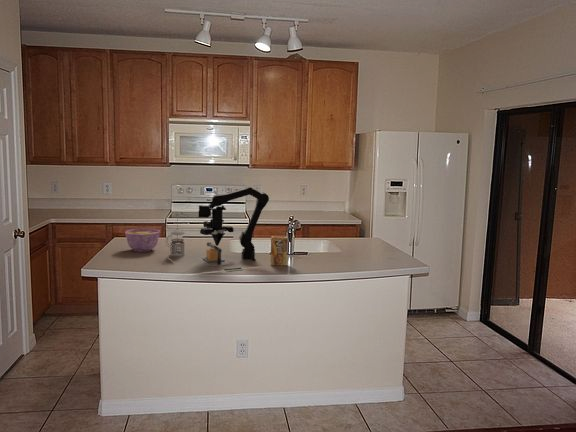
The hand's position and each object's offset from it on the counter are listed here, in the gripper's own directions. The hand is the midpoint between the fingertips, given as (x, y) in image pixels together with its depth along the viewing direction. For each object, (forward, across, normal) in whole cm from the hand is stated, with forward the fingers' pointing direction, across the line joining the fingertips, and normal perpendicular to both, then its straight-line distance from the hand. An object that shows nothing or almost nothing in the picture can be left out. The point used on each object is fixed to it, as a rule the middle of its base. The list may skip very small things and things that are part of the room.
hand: (216, 245), depth 276 cm
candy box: (+8, -22, +27) cm, 36 cm away
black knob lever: (+7, +4, +3) cm, 9 cm away
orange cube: (+7, +4, +3) cm, 9 cm away
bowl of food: (+9, +22, -46) cm, 52 cm away
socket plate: (+8, +4, +4) cm, 10 cm away
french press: (+9, +13, -21) cm, 27 cm away
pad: (+8, +4, +20) cm, 22 cm away
